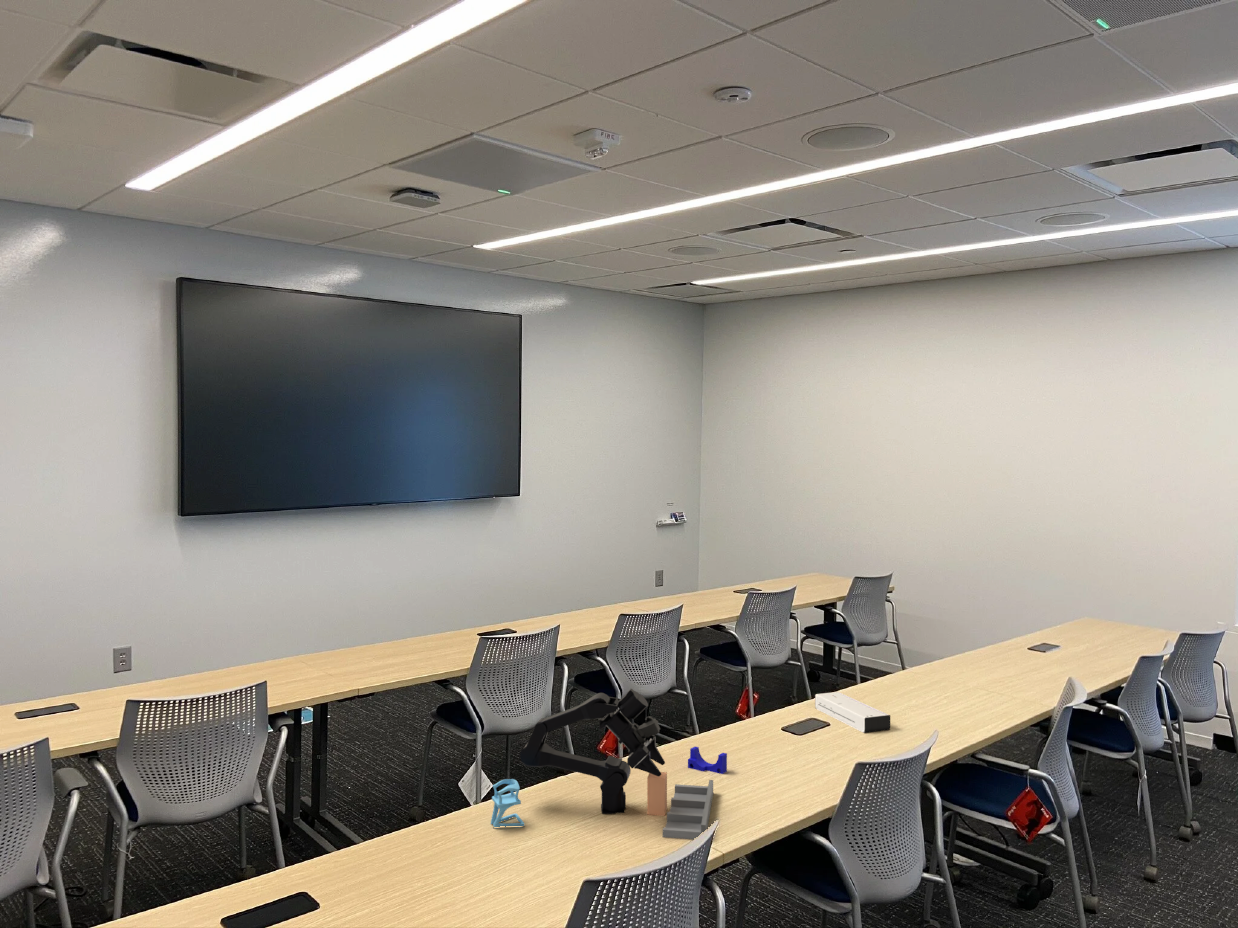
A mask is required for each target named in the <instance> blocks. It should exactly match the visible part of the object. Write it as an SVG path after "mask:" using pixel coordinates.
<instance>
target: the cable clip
mask: <svg viewBox="0 0 1238 928" xmlns="http://www.w3.org/2000/svg"><path fill="white" fill-rule="evenodd" d="M699 748H700V747H699V746H693V747H691V748H690V749H689V750H690V751H689V752H690V753H689V754H690V755H689V758H687V769H691V770H695V771H699V772H702V773H704V772H706V771H707V772H712V773H715V774H721V775H723V774H725V773H727V771H728V768H727V767H728V753H726V752H721V753H719V754H718V755H717V756H718V757H717V761H716V762H715V763H710V762H707V760H705V759H704V758H703V757H702V755H701V752H700V749H699Z"/></svg>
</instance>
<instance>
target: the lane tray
mask: <svg viewBox="0 0 1238 928" xmlns="http://www.w3.org/2000/svg"><path fill="white" fill-rule="evenodd" d="M713 797H714V780H713V779H708V785H694V784H693V785H691V784H674V794H673V797H671V798H670V809H669V811H666V823H665V827H662V838H668V839H669V838H670V839H680V840H681V839H684V840H693V839H694V838H696V837H698V836H699V835H700V834H701V833H702V832H704V831H705V830H706V829H707V828H708V827H709V821H710V815H711V810H712V804H713ZM707 830H708V829H707Z"/></svg>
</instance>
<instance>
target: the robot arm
mask: <svg viewBox="0 0 1238 928" xmlns="http://www.w3.org/2000/svg"><path fill="white" fill-rule="evenodd" d="M647 707H649V703H648V701H647V699H646V698H645V697H644V696H643V695H642V694H641V693H639V692H638V691H636V690H634V689H633V688H630V689H629V690H628V691H627V692H626V694H625V695H624V696H623V697H622V698H618V697H613V696H609V695H608V694H606V693H604V692H598V693H596V694H595V695H593V696H591V697H590V698H588V699H586V700H585V701H583V702H582V703H580V704H579V705H576V706H574V707H571V708H568V709H566V710H563V711H561V712H558V713H555V714H553V715H550V716H548V717H543V718H540V719H538V721H537V722H536V724H535V725H534V729H533V731H532V734H531V735H530V737H529V739H528V741H527V743H526V744H525V746H523V748H522V749H521V751H520V754H519V758H520V761H521V763H522V764H523V765H524V766H527V767H534V768H535V767H536V768H542V767H549V766H550V767H555V768H559V769H563V770H567V771H571V772H575V773H578V774H582V775H586V776H591V777H595V778H597V779H599V780H600V781H601V783H600V786H599V788H600V791H601V804H600V809H601V814H602V815H610V814H611V815H614V814H625V810H626V808H627V807H626V806H627V805H626V803H627V802H626V801H627V800H626V798H627V797H626V791H625V789H624V786H625V785H626V784H627V783H628V780H629V778H630V776H631V770H632V769H635V770H636V769H637V770H639V771H643V772H646V773H648V774H649V773H651V774H653V775H656V776H658V777H659V776H660V775H661V772H662V771H660V770H659V769H660V768H659V767H658V766H657V765H656V764H655V763H657V764H660V765H661V766H664V765H665V764H666V762H665V759H664V758H663V756H662V754H661V752H660V751H659V749H658V747H657V744H656V741H657V737H656V735H658V734H659V733H660V730H661V727H660V725H659V720H657V719H656V718H654V717H653V716H652V715H650V716H649V715H648V716H647V717H645V720H644V722H643V723H642V724H641V725H638V724H637V723H636V722H635V723H632V722H631V721H630V720H631V719H632V720H635V719H636V718H637V717H638V716H639V715H640V714H642V712H643V711H644V710H645V709H647ZM596 719H598V724H599V726H598V730H599V731H601V730H603V729H604V728H605V727H607V728H608V730H609V731H610V732H611V733H612V734H613V735H614V736H615V737H616V738H617V739H618V741H617V742H618V743H619V745H621V744H623V745H624V746H625V748H627V750H628V751H627V752H628V757H627V760H623V758H621V757H619V758H618V757H615V756H612V755H608V756H607V759H606V760H599V759H594V758H589V757H585V756H582V755H578V754H573V753H569V752H565V751H562V750H558V749H554V748H553V747H552V746H550V745H549V744H547V743H546V739H547V736H548V734H549V733H551V732H554V731H556V730H558V729H561V728H564V727H566V726H569V725H571V724H575V723H578V722H580V721H584V720H596Z"/></svg>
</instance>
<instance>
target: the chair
mask: <svg viewBox="0 0 1238 928" xmlns="http://www.w3.org/2000/svg"><path fill="white" fill-rule="evenodd" d="M504 784H506V785H507V786H505V787H503V788H502V789H500V790H499V791H497V788H499V786H501V785H504ZM492 788H493V790H494V791H493V792H494V795H493V796H491V800H492V801H493V804H494V805H493V810H492V815H491V819H490V825H491V824H493V825H492V827H493V826H494V827H500V826H505V827H506V826H524V827H525V822H524V821H523V819H522V818H521V817H520V816H519V815H518V813H511V814H508V815H506V816H504V814H505V812H506V811H507V810H508V809H509V808H511V807H514V806H517V805H521V804H522V800H521V799H520V798H519V792H520V789H521V788H520V784H519V782H518V781H517V780H516V779H514V778H509V779H508V778H505V779H502V780H500V781H498V782H496V783H495V784H493V785H492ZM507 792H509V793H507ZM504 793H506V794H504ZM512 817H516V818H517V819H516V818H515V819H516V820H517V822H513V823H511V822H509V823H508V822H507V823H505V821H504V820H506V821H508V819H509V818H512ZM512 819H513V818H512ZM509 820H510V819H509ZM501 821H504V823H503V822H501ZM499 822H501V823H499ZM519 822H520V823H519Z"/></svg>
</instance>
